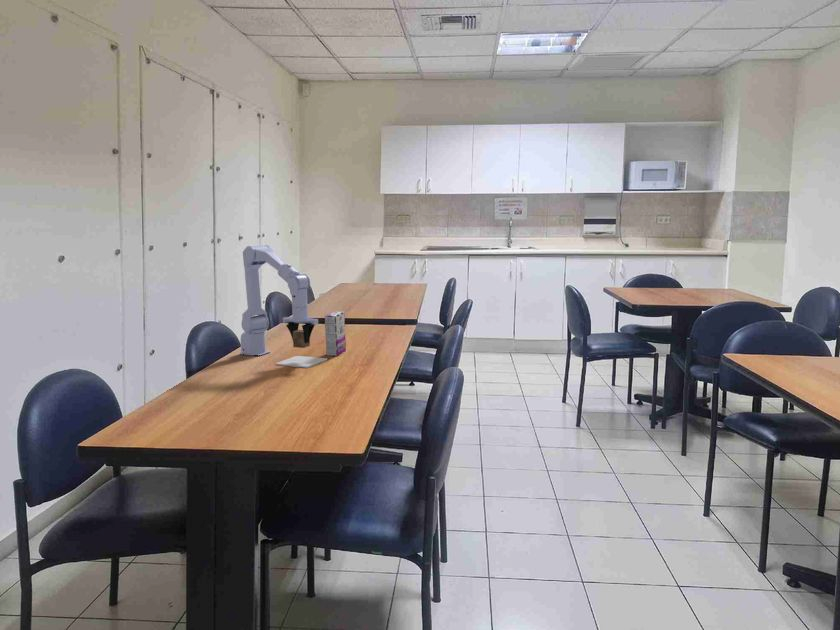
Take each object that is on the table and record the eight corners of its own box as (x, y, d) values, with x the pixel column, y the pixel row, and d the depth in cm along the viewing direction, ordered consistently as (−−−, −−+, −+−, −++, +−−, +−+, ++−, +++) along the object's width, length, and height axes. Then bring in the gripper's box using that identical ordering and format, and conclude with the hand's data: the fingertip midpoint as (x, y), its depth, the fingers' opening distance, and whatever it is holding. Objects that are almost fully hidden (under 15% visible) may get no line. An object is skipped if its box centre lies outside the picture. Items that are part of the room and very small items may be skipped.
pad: (275, 365, 239) (275, 363, 238) (296, 357, 251) (296, 355, 251) (307, 368, 233) (307, 366, 233) (327, 360, 246) (327, 358, 246)
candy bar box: (334, 350, 264) (333, 311, 262) (346, 350, 263) (345, 311, 260) (325, 356, 253) (324, 315, 251) (337, 356, 252) (336, 315, 250)
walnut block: (293, 347, 240) (292, 331, 239) (299, 344, 244) (299, 329, 244) (303, 347, 239) (303, 332, 238) (309, 345, 243) (309, 330, 242)
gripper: (277, 307, 238) (279, 342, 240) (310, 309, 233) (312, 345, 235) (288, 304, 244) (289, 339, 247) (320, 306, 239) (321, 342, 241)
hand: (301, 342), depth 241 cm, fingers closed on walnut block, 4 cm apart
